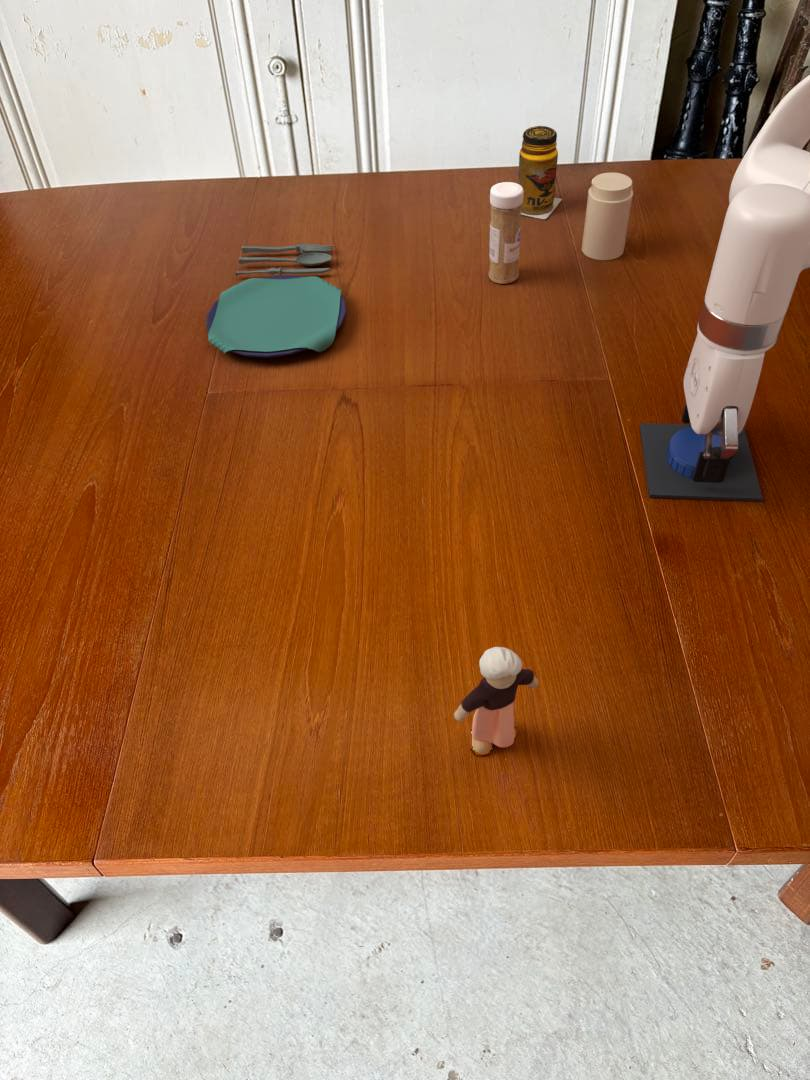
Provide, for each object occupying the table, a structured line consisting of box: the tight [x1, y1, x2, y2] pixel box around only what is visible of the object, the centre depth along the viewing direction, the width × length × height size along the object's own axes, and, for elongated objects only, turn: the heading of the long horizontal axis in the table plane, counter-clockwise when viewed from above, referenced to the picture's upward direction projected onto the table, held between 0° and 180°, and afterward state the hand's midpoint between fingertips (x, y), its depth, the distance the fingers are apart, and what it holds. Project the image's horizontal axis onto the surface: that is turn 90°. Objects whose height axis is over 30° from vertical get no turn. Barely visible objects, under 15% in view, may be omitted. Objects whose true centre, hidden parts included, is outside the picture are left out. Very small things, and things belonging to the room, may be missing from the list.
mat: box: [639, 422, 764, 502], centre depth 93 cm, size 12×12×1 cm
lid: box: [666, 427, 732, 479], centre depth 92 cm, size 7×7×2 cm
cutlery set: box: [205, 242, 347, 359], centre depth 118 cm, size 20×30×2 cm, turn 179°
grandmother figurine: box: [453, 646, 539, 753], centre depth 67 cm, size 8×4×13 cm, turn 126°
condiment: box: [517, 125, 563, 220], centre depth 131 cm, size 7×8×12 cm
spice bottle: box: [488, 181, 524, 285], centre depth 116 cm, size 5×5×13 cm
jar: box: [581, 172, 634, 261], centre depth 121 cm, size 6×6×11 cm
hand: (701, 450), depth 92 cm, fingers open, 9 cm apart
